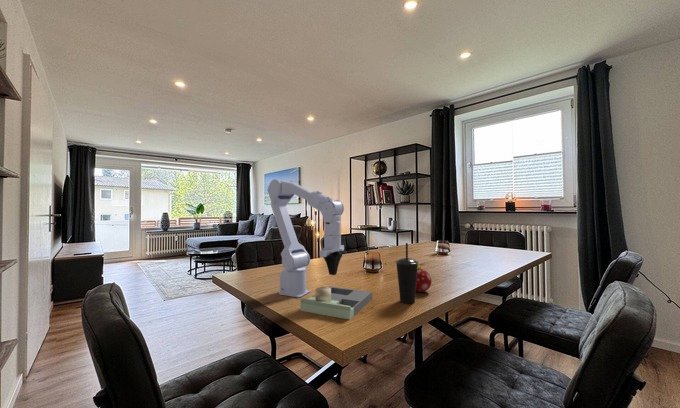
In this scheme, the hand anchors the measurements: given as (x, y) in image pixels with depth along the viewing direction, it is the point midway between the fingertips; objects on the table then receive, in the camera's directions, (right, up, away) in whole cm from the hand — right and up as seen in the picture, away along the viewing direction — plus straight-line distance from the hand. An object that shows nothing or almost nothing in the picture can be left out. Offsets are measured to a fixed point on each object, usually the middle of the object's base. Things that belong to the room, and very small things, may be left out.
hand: (332, 274), depth 96 cm
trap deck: (+2, -9, -2) cm, 10 cm away
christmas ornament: (+33, -9, +10) cm, 36 cm away
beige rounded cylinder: (-3, -7, -7) cm, 10 cm away
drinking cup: (+26, -9, 0) cm, 27 cm away
